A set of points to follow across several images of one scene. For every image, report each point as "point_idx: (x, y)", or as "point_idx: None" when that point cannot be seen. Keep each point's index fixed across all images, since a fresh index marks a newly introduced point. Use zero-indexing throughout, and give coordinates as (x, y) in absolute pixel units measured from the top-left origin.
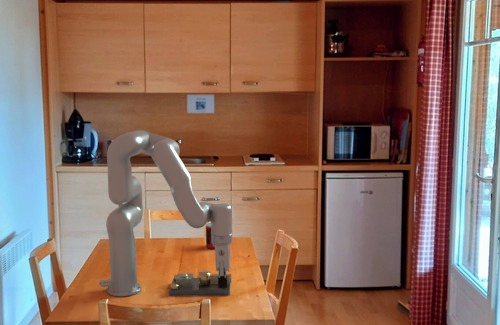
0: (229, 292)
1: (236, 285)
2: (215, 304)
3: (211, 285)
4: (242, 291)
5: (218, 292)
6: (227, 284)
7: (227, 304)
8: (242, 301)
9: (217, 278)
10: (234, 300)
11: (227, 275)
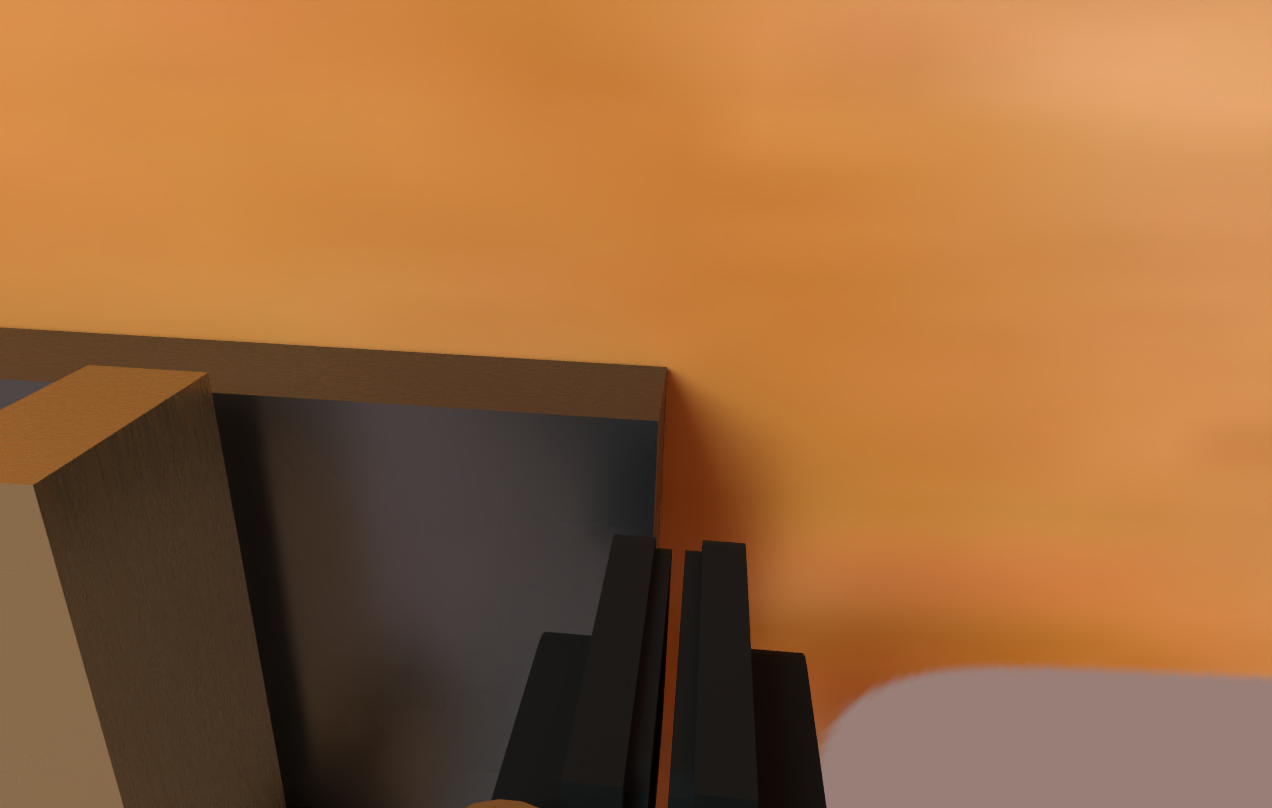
0: (663, 394)
1: (22, 176)
2: (1173, 665)
3: (365, 781)
4: (425, 20)
5: None
6: (265, 455)
7: (1262, 437)
8: (1180, 43)
9: (200, 785)
10: (1047, 264)
11: (74, 599)
